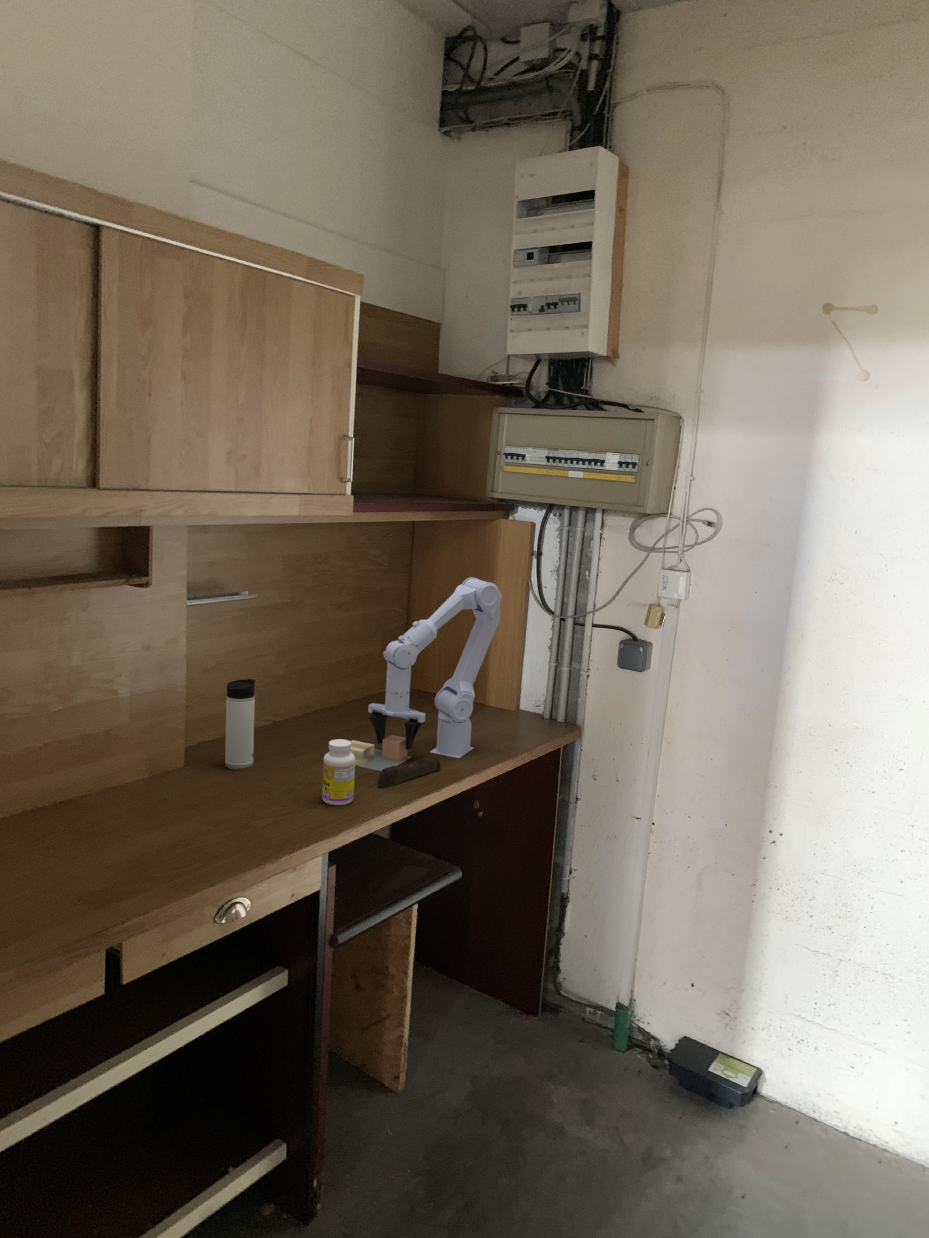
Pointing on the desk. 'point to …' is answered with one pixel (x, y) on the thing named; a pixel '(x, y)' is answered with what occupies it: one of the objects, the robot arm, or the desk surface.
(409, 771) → the hand tool
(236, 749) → the travel mug
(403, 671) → the robot arm
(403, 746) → the terracotta cube
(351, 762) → the supplement bottle
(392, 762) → the rubber mat
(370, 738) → the desk surface
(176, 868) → the desk surface
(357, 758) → the beech block
